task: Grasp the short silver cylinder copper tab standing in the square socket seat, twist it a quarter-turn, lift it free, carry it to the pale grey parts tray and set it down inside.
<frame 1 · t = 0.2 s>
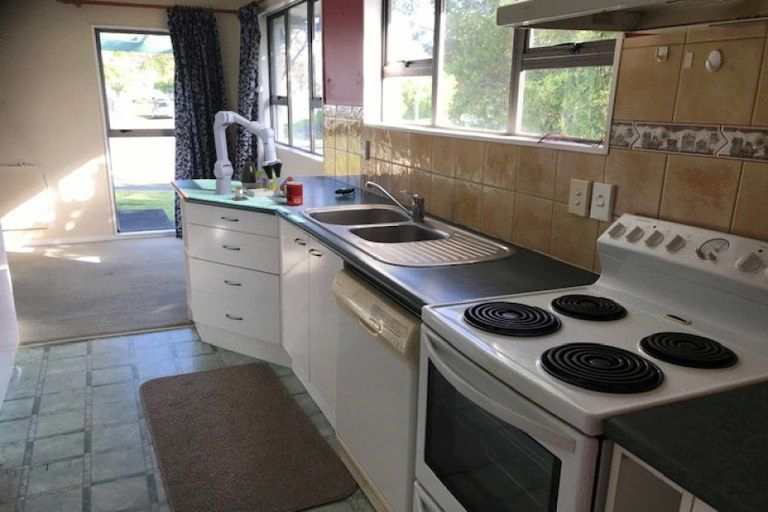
hand: (274, 178, 300), 10 cm above the countertop, tool pointing down, fingers open, 7 cm apart
chalk box: (267, 191, 327), on the countertop
socket seat: (239, 200, 294), on the countertop
canned food: (295, 205, 284), on the countertop
brake caliper: (290, 197, 307), on the countertop
parts tray: (260, 195, 310), on the countertop
silver cylinder copper tab: (239, 199, 294), point 1 cm above the countertop, touching socket seat
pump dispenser: (250, 188, 338), on the countertop
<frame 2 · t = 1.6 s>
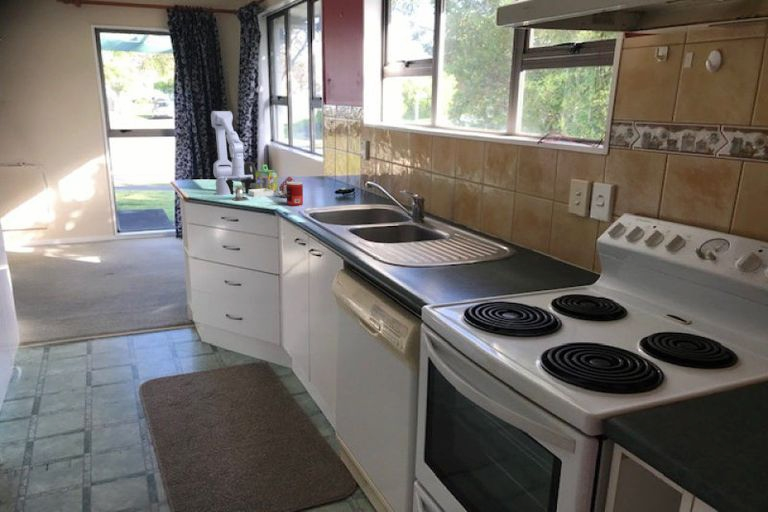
hand: (239, 193, 293), 3 cm above the countertop, tool pointing down, fingers open, 7 cm apart
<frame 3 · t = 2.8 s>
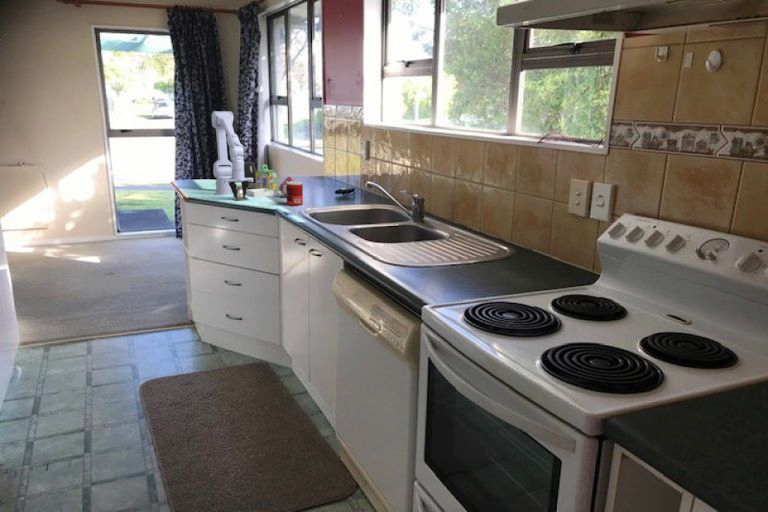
hand: (239, 196, 293), 2 cm above the countertop, tool pointing down, fingers closed on silver cylinder copper tab, 4 cm apart
silver cylinder copper tab: (239, 199, 294), point 1 cm above the countertop, touching gripper, socket seat
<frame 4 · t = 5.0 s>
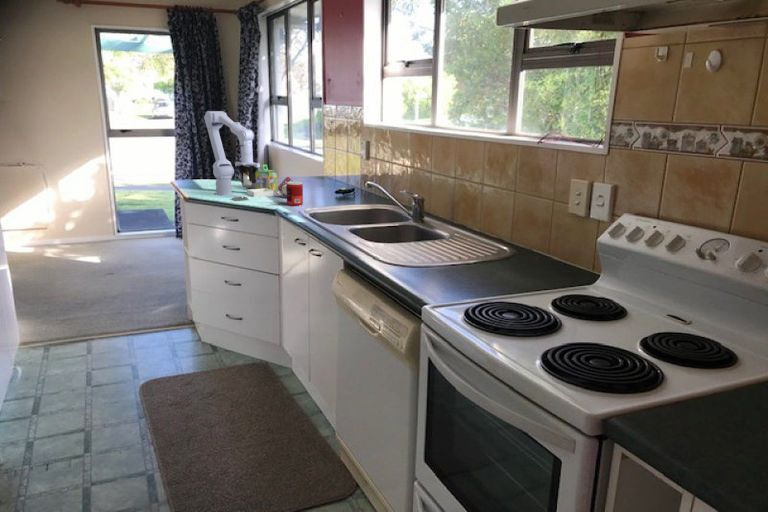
hand: (248, 180, 299), 9 cm above the countertop, tool pointing down, fingers closed on silver cylinder copper tab, 4 cm apart
silver cylinder copper tab: (247, 185, 299), point 7 cm above the countertop, touching gripper
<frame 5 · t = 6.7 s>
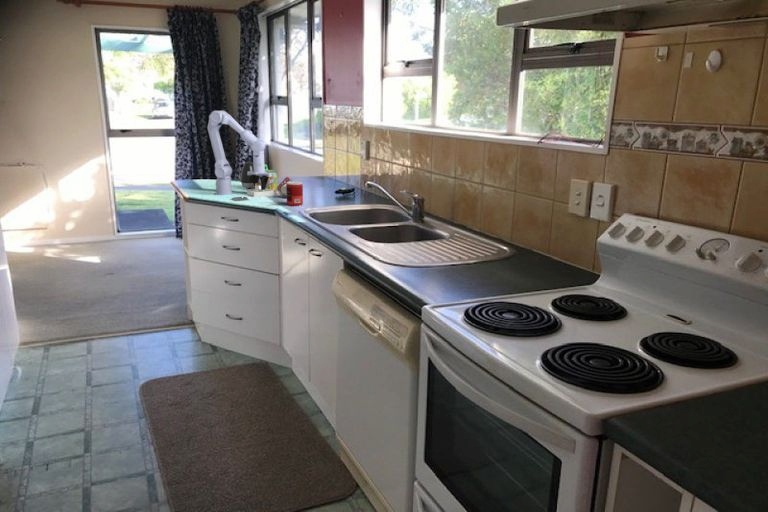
hand: (260, 189, 309), 3 cm above the countertop, tool pointing down, fingers closed on silver cylinder copper tab, 4 cm apart
silver cylinder copper tab: (259, 194, 309), point 1 cm above the countertop, touching gripper, parts tray
when the fingers open (3 cm above the countertop, at t = 7.5 s): silver cylinder copper tab stays where it is, resting on parts tray.
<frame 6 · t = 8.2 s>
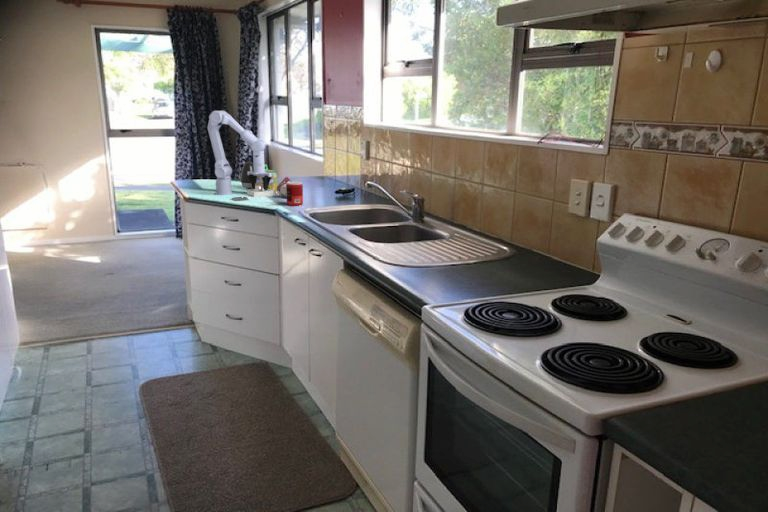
hand: (260, 189, 309), 3 cm above the countertop, tool pointing down, fingers open, 7 cm apart
silver cylinder copper tab: (259, 194, 309), point 1 cm above the countertop, touching parts tray
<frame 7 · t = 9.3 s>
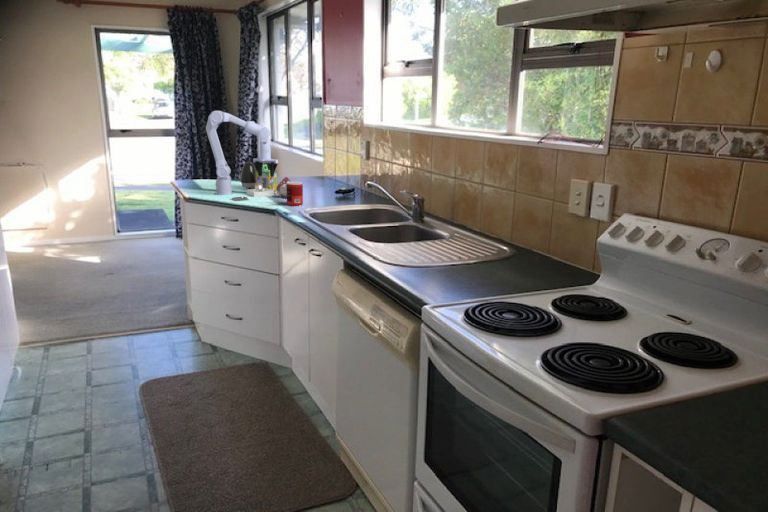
hand: (266, 176, 312), 10 cm above the countertop, tool pointing down, fingers open, 7 cm apart
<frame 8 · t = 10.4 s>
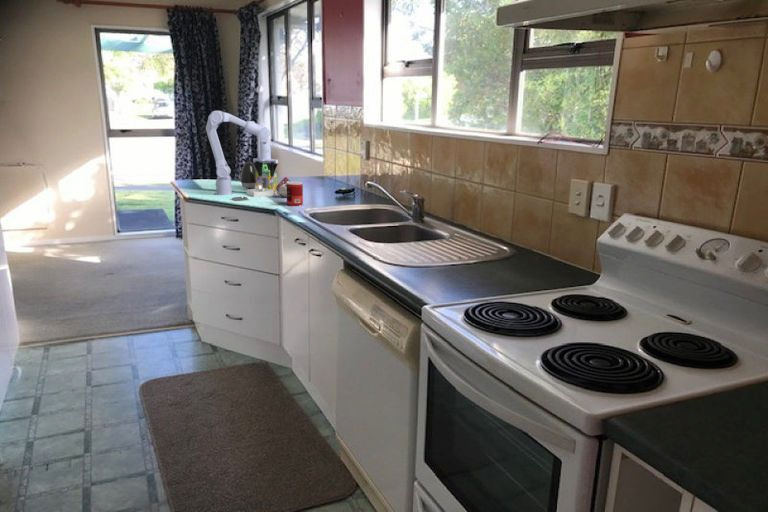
hand: (266, 176, 312), 10 cm above the countertop, tool pointing down, fingers open, 7 cm apart
at the end: silver cylinder copper tab inside the target area on the parts tray (0.9 cm from its centre), point 0.6 cm above the parts tray's base; the gripper is holding nothing; silver cylinder copper tab moved 17.0 cm from its start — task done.
